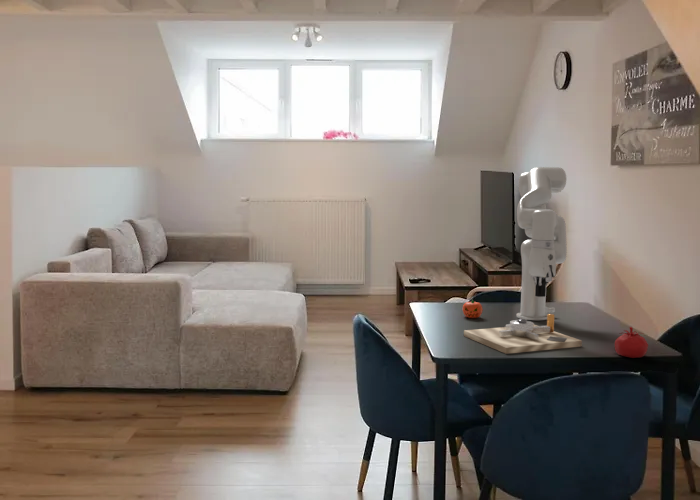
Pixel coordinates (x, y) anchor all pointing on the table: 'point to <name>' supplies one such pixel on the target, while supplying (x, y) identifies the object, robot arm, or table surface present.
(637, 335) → the pomegranate
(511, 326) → the cylinder
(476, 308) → the pumpkin
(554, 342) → the wooden board
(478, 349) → the table surface
